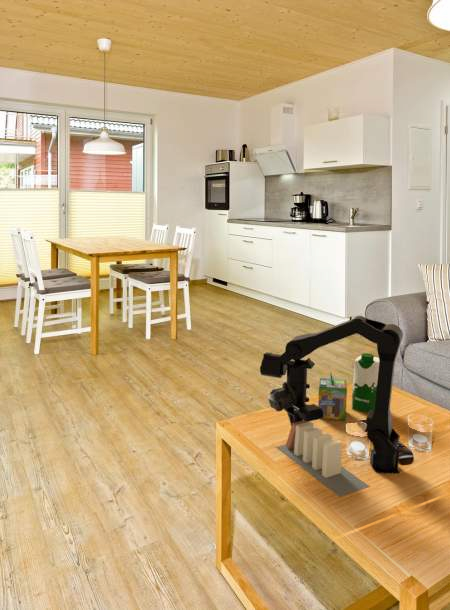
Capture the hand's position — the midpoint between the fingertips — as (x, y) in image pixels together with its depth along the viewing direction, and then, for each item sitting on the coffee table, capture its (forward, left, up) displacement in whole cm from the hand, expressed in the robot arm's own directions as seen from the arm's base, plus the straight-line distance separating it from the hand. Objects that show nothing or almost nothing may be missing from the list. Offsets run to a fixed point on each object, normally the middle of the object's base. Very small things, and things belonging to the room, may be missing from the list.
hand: (294, 430), depth 148 cm
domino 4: (-6, +11, -5) cm, 14 cm away
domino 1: (0, 0, -5) cm, 5 cm away
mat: (-6, +10, -5) cm, 13 cm away
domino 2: (-2, +4, -5) cm, 6 cm away
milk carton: (-28, -29, -6) cm, 41 cm away
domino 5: (-8, +15, -5) cm, 18 cm away
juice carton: (-15, -23, -6) cm, 29 cm away
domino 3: (-4, +7, -5) cm, 10 cm away
